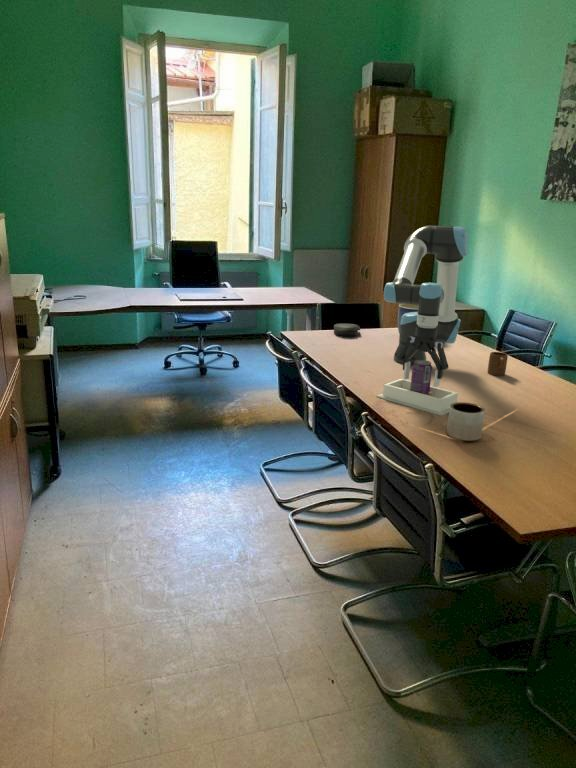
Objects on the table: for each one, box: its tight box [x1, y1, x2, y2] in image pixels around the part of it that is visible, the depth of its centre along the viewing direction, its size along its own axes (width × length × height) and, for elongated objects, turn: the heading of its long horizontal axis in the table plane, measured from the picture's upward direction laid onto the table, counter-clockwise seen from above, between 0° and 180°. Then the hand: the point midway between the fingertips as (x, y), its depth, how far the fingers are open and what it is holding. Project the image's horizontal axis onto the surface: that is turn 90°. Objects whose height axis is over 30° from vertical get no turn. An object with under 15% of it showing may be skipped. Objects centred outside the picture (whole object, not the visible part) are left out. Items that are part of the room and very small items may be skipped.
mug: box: [487, 351, 509, 377], centre depth 255 cm, size 12×8×9 cm, turn 175°
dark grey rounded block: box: [333, 323, 361, 338], centre depth 321 cm, size 14×18×8 cm
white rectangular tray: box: [375, 378, 459, 417], centre depth 217 cm, size 28×16×5 cm, turn 47°
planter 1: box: [397, 303, 419, 335], centre depth 318 cm, size 21×21×19 cm
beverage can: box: [410, 359, 433, 394], centre depth 215 cm, size 7×7×12 cm
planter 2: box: [446, 401, 485, 442], centre depth 184 cm, size 11×11×10 cm
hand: (420, 382), depth 215 cm, fingers open, 12 cm apart
